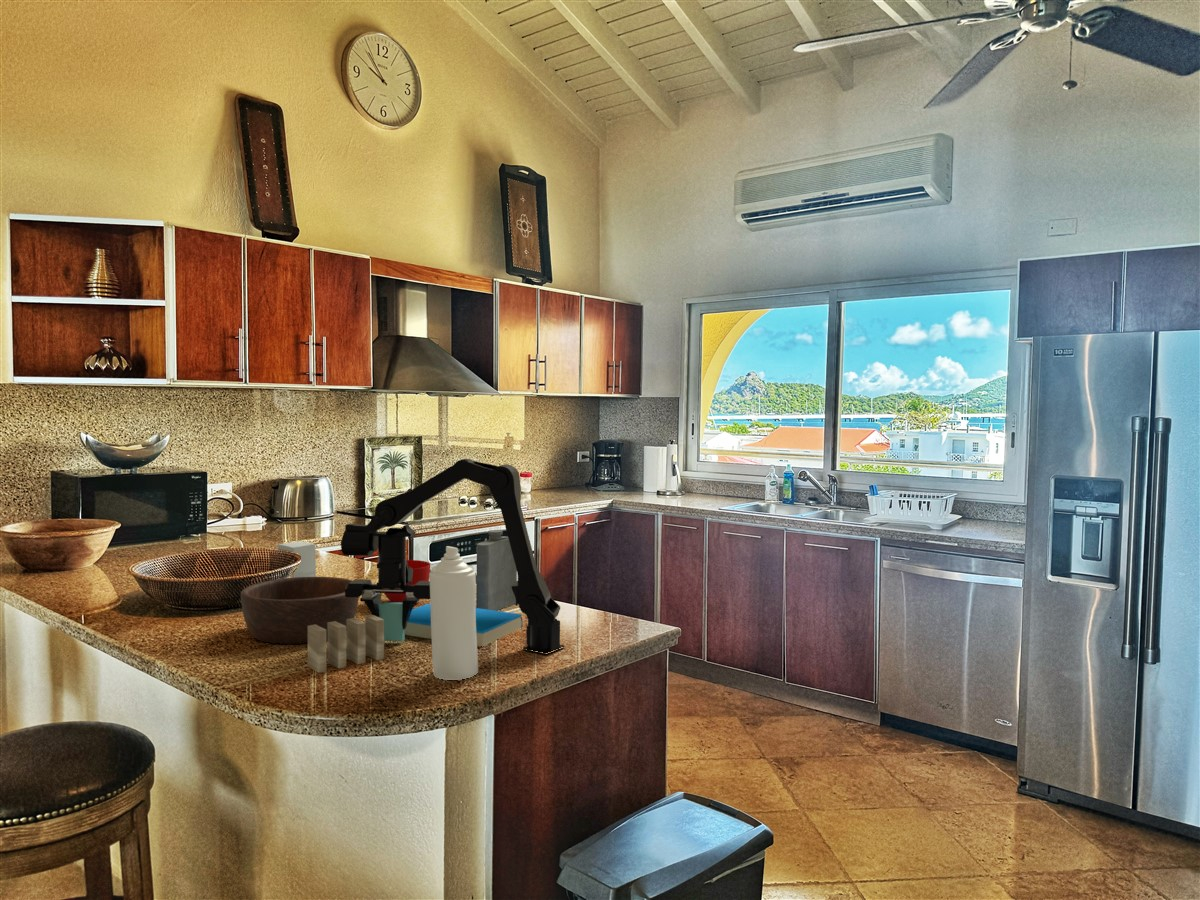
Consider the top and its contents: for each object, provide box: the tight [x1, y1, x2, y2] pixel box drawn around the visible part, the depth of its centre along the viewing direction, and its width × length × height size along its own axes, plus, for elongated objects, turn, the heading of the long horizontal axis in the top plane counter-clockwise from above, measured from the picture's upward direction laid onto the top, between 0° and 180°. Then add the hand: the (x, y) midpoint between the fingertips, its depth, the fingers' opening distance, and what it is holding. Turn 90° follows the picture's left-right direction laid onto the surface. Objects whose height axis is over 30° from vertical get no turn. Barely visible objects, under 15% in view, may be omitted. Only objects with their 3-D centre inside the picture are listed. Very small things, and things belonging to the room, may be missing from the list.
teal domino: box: [379, 601, 406, 642], centre depth 174 cm, size 2×5×8 cm, turn 87°
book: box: [405, 602, 523, 648], centre depth 185 cm, size 17×4×25 cm
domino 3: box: [346, 617, 366, 665], centre depth 162 cm, size 2×5×8 cm, turn 42°
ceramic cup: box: [383, 559, 431, 604], centre depth 213 cm, size 13×17×10 cm
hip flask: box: [476, 529, 518, 611], centre depth 205 cm, size 16×4×20 cm, turn 154°
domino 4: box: [364, 614, 385, 661], centre depth 165 cm, size 2×5×8 cm, turn 42°
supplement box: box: [277, 540, 317, 578], centre depth 225 cm, size 7×7×13 cm
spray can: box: [429, 545, 479, 681], centre depth 153 cm, size 12×11×25 cm
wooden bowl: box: [240, 576, 360, 645], centre depth 182 cm, size 25×25×10 cm
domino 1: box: [307, 624, 327, 673], centre depth 157 cm, size 2×5×8 cm, turn 42°
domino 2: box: [327, 621, 347, 669], centre depth 159 cm, size 2×5×8 cm, turn 42°
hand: (392, 628), depth 174 cm, fingers closed on teal domino, 5 cm apart
